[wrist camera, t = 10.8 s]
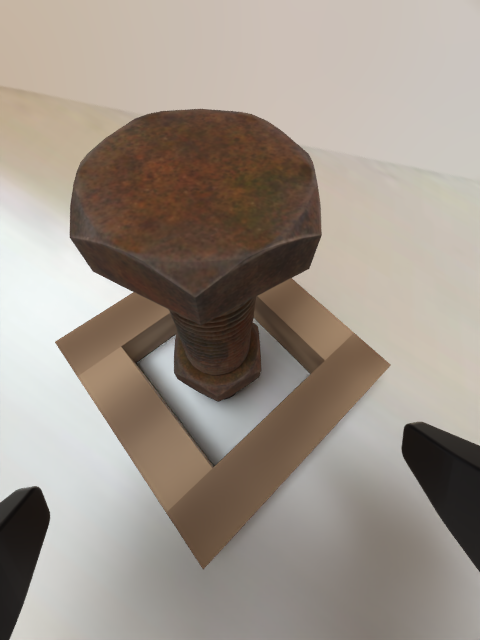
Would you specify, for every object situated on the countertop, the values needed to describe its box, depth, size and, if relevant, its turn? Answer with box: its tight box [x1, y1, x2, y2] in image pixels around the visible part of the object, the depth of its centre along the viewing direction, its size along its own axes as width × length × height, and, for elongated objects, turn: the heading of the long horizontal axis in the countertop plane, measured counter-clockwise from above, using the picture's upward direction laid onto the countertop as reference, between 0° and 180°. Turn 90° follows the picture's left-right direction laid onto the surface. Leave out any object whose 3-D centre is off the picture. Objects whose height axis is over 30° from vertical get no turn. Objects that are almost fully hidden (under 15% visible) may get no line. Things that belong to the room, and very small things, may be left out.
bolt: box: [70, 109, 322, 402], centre depth 13 cm, size 6×5×15 cm
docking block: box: [55, 278, 390, 569], centre depth 18 cm, size 14×14×3 cm
